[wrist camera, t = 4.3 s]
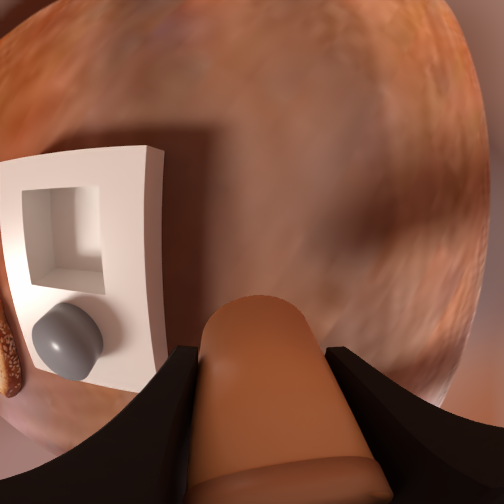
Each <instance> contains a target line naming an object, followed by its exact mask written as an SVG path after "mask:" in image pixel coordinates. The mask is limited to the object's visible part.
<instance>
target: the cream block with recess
mask: <svg viewBox="0 0 504 504" xmlns="http://www.w3.org/2000/svg"><path fill="white" fill-rule="evenodd" d="M164 153H165V151H163V150H160V149H157V148H154V147H151V146H147V145H139V146H117V147H103V148H91V149H80V150H71V151H63V152H55V153H48V154H42V155H35V156H30V157H24V158H19V159H14V160H9V161H4V162H0V226H1V236H2V244H3V252H4V258H5V264H6V270H7V275H8V280H9V285H10V289H11V294H12V298H13V302H14V306H15V309H16V313H17V317H18V320H19V323H20V326H21V330H22V333H23V336H24V339H25V342H26V344H27V347H28V350H29V353H30V355H31V358H32V360H33V363H34V365H35V367H36V368H39V369H42V370H45V371H48V372H51V373H54V374H58V375H59V376H61V377H63V378H65V379H68V380H72V381H83V382H87V383H92V384H96V385H100V386H105V387H110V388H115V389H120V390H126V391H132V392H138V393H140V392H141V390H142V389H143V388H144V387H145V386H146V385H147V384H148V382H149V381H150V380H151V379H152V378H153V376H154V375H155V374H156V373H157V372H158V370H159V369H160V368H161V366H162V365H163V364H164V363H165V361H166V360H167V358H168V350H167V340H166V329H165V316H164V301H163V280H162V189H163V168H164Z"/></svg>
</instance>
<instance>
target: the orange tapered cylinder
mask: <svg viewBox="0 0 504 504" xmlns="http://www.w3.org/2000/svg"><path fill="white" fill-rule="evenodd" d="M393 495H394V494H393V492H392V490H391V488H390V486H389V483H388V481H387V479H386V477H385V475H384V473H383V471H382V468H381V466H380V465H379V463H378V462H377V461H375V459H374V457H373V455H372V453H371V451H370V449H369V447H368V445H367V443H366V440H365V438H364V436H363V434H362V432H361V430H360V428H359V426H358V424H357V422H356V420H355V417H354V415H353V413H352V411H351V409H350V407H349V405H348V403H347V401H346V399H345V397H344V395H343V393H342V391H341V389H340V387H339V385H338V383H337V381H336V379H335V377H334V375H333V372H332V370H331V368H330V366H329V364H328V362H327V360H326V358H325V356H324V354H323V352H322V350H321V348H320V346H319V344H318V342H317V340H316V339H315V337H314V335H313V333H312V331H311V329H310V327H309V325H308V323H307V321H306V319H305V317H304V316H303V314H302V313H301V312H300V311H299V310H298V309H297V308H296V307H295V306H293V305H292V304H290V303H289V302H287V301H285V300H282V299H280V298H277V297H272V296H264V295H254V296H246V297H242V298H239V299H236V300H233V301H231V302H229V303H227V304H225V305H224V306H222V307H221V308H219V309H218V310H217V311H216V312H215V313H214V314H213V315H212V316H211V317H210V318H209V320H208V322H207V323H206V325H205V327H204V330H203V333H202V339H201V346H200V354H199V361H198V370H197V378H196V387H195V394H194V403H193V412H192V421H191V431H190V442H189V453H188V465H187V478H186V492H185V493H184V495H183V499H182V504H388V503H389V502H390V501H391V500H392V498H393Z"/></svg>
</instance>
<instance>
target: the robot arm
mask: <svg viewBox="0 0 504 504" xmlns="http://www.w3.org/2000/svg"><path fill="white" fill-rule="evenodd" d="M325 358H326V360H327V362H328V364H329V366H330V368H331V370H332V372H333V375H334V377H335V379H336V381H337V383H338V385H339V387H340V389H341V391H342V393H343V395H344V397H345V399H346V401H347V403H348V405H349V407H350V409H351V411H352V413H353V415H354V417H355V420H356V422H357V424H358V426H359V428H360V430H361V432H362V434H363V436H364V438H365V440H366V443H367V445H368V447H369V449H370V451H371V453H372V455H373V457H374V459H375V461H377V462H378V463H379V465H380V466H381V468H382V471H383V473H384V475H385V477H386V479H387V481H388V483H389V486H390V488H391V490H392V492H393V494H394V495H393V498H392V500H391V501H390V502H389V503H388V504H504V428H502V427H496V426H492V425H486V424H483V423H479V422H475V421H472V420H469V419H466V418H463V417H460V416H457V415H455V414H452V413H449V412H447V411H445V410H443V409H441V408H439V407H436V406H434V405H432V404H430V403H428V402H426V401H424V400H423V399H421V398H419V397H417V396H416V395H414V394H412V393H411V392H409V391H407V390H406V389H404V388H403V387H401V386H399V385H398V384H396V383H395V382H393V381H392V380H391V379H389V378H388V377H386V376H385V375H383V374H382V373H381V372H379V371H378V370H376V369H375V368H374V367H372V366H371V365H370V364H368V363H367V362H365V361H364V360H363V359H361V358H360V357H359V356H357V355H356V354H354V353H353V352H352V351H350V350H349V349H347V348H346V347H344V346H343V347H328V348H327V349H326V353H325ZM197 370H198V347H190V346H177V347H176V348H174V350H173V351H172V353H171V354H170V356H169V357H168V358H167V360H166V361H165V363H164V364H163V365H162V366H161V368H160V369H159V370H158V372H157V373H156V374H155V375H154V376H153V378H152V379H151V380H150V381H149V382H148V384H147V385H146V386H145V387H144V388H143V389H142V390H141V392H140V393H139V394H138V395H137V396H136V397H135V398H134V399H133V400H132V401H131V402H130V403H129V404H128V405H127V406H126V407H125V408H124V409H123V410H122V411H121V412H120V413H119V414H118V415H116V416H115V417H114V418H113V419H112V420H111V421H110V422H108V423H107V424H106V425H105V426H104V427H102V428H101V429H100V430H99V431H97V432H96V433H95V434H93V435H92V436H90V437H89V438H88V439H86V440H85V441H83V442H82V443H81V444H79V445H78V446H76V447H74V448H73V449H71V450H70V451H68V452H66V453H64V454H62V455H61V456H59V457H57V458H55V459H53V460H51V461H49V462H47V463H45V464H43V465H41V466H39V467H37V468H34V469H32V470H30V471H27V472H24V473H21V474H18V475H15V476H12V477H9V478H6V479H2V480H0V504H182V499H183V495H184V493H185V492H186V478H187V465H188V453H189V442H190V431H191V421H192V412H193V403H194V394H195V387H196V378H197Z"/></svg>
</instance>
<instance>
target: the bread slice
mask: <svg viewBox="0 0 504 504" xmlns="http://www.w3.org/2000/svg"><path fill="white" fill-rule="evenodd" d="M20 388H21V367H20V364H19V358H18V354H17V351H16V346H15V343H14V339H13V334H12V332H11V329H10V327H9V325H8V323H7V320H6V318H5V315H4V310H3V305H2V301H1V298H0V393H2V394H3V395H5V396H6V397H7V398H11V397H14V396H15V395H16V394H17V393H18V391H19V390H20Z"/></svg>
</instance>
